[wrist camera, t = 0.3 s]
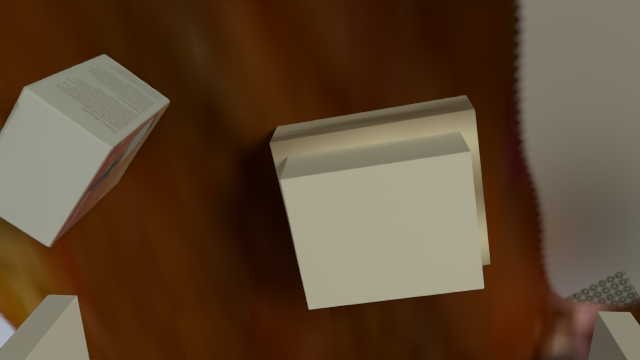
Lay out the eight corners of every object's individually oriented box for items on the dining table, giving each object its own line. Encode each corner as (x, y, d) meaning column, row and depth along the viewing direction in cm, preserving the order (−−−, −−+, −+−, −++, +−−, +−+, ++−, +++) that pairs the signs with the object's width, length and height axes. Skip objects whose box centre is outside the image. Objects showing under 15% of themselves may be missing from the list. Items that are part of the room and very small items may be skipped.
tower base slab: (278, 124, 42) (269, 142, 38) (464, 93, 40) (474, 109, 37) (308, 260, 46) (303, 288, 42) (479, 236, 44) (490, 263, 40)
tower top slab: (287, 157, 38) (280, 179, 35) (459, 130, 37) (470, 151, 33) (313, 276, 42) (308, 309, 38) (472, 256, 40) (484, 288, 37)
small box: (118, 183, 44) (48, 252, 34) (52, 138, 43) (-40, 197, 33) (174, 99, 41) (115, 149, 32) (104, 50, 40) (21, 85, 31)
